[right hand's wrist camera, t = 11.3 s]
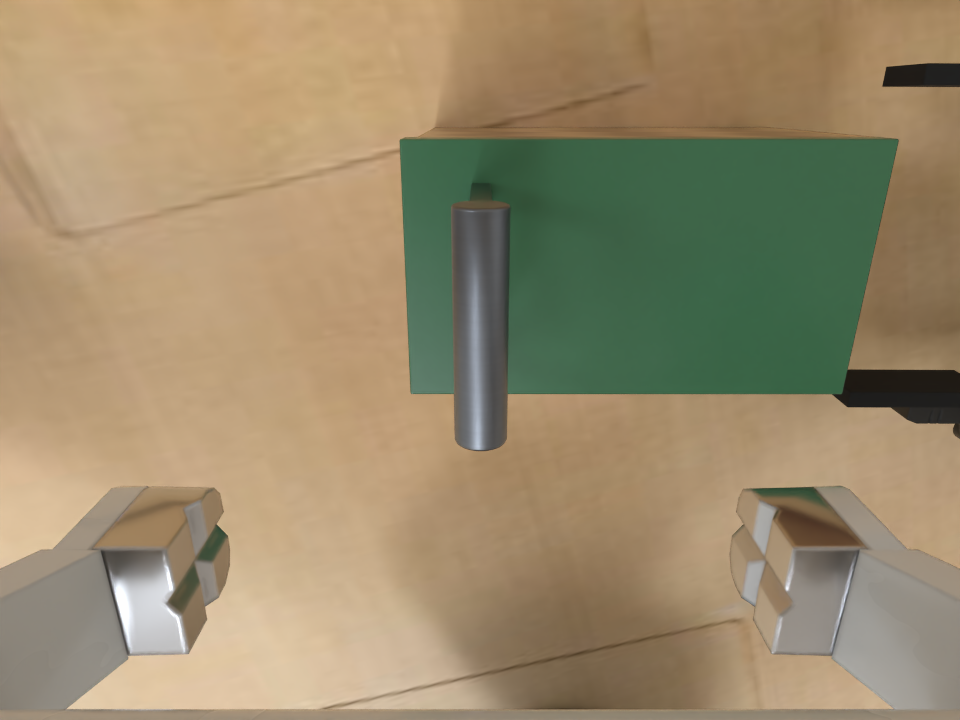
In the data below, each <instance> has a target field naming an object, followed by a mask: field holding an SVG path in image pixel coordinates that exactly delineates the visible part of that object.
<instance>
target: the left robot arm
mask: <svg viewBox="0 0 960 720" xmlns="http://www.w3.org/2000/svg"><path fill="white" fill-rule="evenodd" d="M882 87H960V64H949V63H927V64H915V65H904V66H892V67H886V72H885V77H884V81H883V86H882ZM832 395H833V396H835V397H836V398H837V399H838V400H840V401H841V402H842V403H843V404H844V405H846V406H847V407H891V408H892V409H894V410H895V411H896V412H898V413H899V414H900V415H902V416H903V417H904V418H906V419H907V420H909V421H912V422H914V423H938V424H955V425H954V428H953V433H954V435H955V436H957V437H958V438H959V439H960V373H958V372H956V371H955V370H847V374H846V378H845V383H844V387H843V392H842V394H832Z"/></svg>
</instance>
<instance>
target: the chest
mask: <svg viewBox="0 0 960 720" xmlns="http://www.w3.org/2000/svg"><path fill="white" fill-rule="evenodd" d="M419 137H869V136H858V135H847V134H836V133H825V132H814V131H803V130H792V129H781V128H433V129H431V130H430V131H428V132H426V133H424V134H423V135H421V136H419Z"/></svg>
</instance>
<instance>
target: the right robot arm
mask: <svg viewBox="0 0 960 720" xmlns="http://www.w3.org/2000/svg"><path fill="white" fill-rule="evenodd" d="M223 512H224V510H223V506H222V501H221V496H220V493H219V492H218V491H217V490H216V489H215V488H202V487H148V486H120V487H116V488H111V490H110V491H109V492H108V493H107V494H106V495H105V496H104V497H103V498H102V499H101V500H100V501H99V502H98V503H97V504H96V505H95V506H94V507H93V508H92V509H91V510H90V511H89V512H88V513H87V514H86V515H85V516H84V517H83V518H82V519H81V521H80V522H79V523H78V524H77V525H76V526H75V527H74V528H73V529H72V530H71V531H70V532H69V533H68V534H67V535H66V536H65V537H64V538H63V539H62V540H61V541H60V542H59V543H58V544H57V545H56V546H55V547H54V548H53V549H52V550H40V551H38V552H35V553H33V554H31V555H29V556H27V557H25V558H22V559H20V560H18V561H16V562H14V563H12V564H9V565H7V566H5V567H3V568H1V569H0V720H960V569H959V568H957V567H955V566H953V565H950V564H948V563H946V562H944V561H942V560H940V559H937V558H935V557H933V556H931V555H929V554H927V553H925V552H922V551H920V550H908V549H907V548H906V547H905V546H904V545H903V544H902V543H901V542H900V541H899V540H898V539H897V538H896V537H895V536H894V535H893V534H892V533H891V532H890V531H889V530H888V529H887V528H886V527H885V526H884V525H883V524H882V522H881V521H880V520H879V519H878V518H877V517H876V516H875V515H874V514H873V513H872V512H871V511H870V510H869V509H868V508H867V507H866V506H865V505H864V504H863V503H862V502H861V501H860V500H859V499H858V498H857V497H856V496H855V494H854V493H853V492H852V491H851V490H850V489H847V488H845V487H843V486H822V487H799V488H758V489H743V490H742V492H741V494H740V496H739V499H738V505H737V510H736V512H737V514H738V516H739V517H740V519H741V521H742V522H743V525H742V526H741V527H740V528H739V529H738V531H737V532H736V533H735V534H734V535H733V536H732V540H731V548H730V564H731V573H732V576H733V580H734V583H735V586H736V588H737V590H738V592H739V594H740V596H741V598H743V599H744V600H746V601H747V602H749V603H750V604H752V605H753V606H755V610H754V616H753V621H754V622H755V624H756V626H757V628H758V630H759V632H760V634H761V635H762V637H763V639H764V641H765V643H766V645H767V647H768V648H769V650H770V652H771V654H787V655H824V656H832V659H833V660H834V661H835V662H837V663H838V664H839V665H840V666H842V667H843V668H844V669H845V670H846V671H848V672H849V673H850V674H851V675H853V676H854V677H855V678H856V679H858V680H859V681H860V682H861V683H863V684H864V685H865V686H866V687H868V688H869V689H870V690H871V691H873V692H874V693H875V694H876V695H878V696H879V697H880V698H881V699H883V700H884V701H885V702H886V703H888V704H889V705H890V706H891V707H893V708H894V709H66V708H68V707H69V706H70V705H71V704H73V703H74V702H75V701H76V700H78V699H79V698H80V697H81V696H83V695H84V694H85V693H86V692H88V691H89V690H90V689H91V688H93V687H94V686H95V685H96V684H98V683H99V682H100V681H101V680H103V679H104V678H105V677H106V676H108V675H109V674H110V673H111V672H113V671H114V670H115V669H116V668H118V667H119V666H120V665H121V664H123V663H124V662H125V661H126V660H127V659H128V656H136V655H171V654H189V652H190V650H191V649H192V647H193V645H194V643H195V641H196V639H197V637H198V635H199V634H200V632H201V630H202V628H203V626H204V624H205V622H206V621H207V616H206V610H205V606H207V605H208V604H210V603H211V602H213V601H214V600H216V599H217V598H219V596H220V594H221V592H222V590H223V588H224V586H225V584H226V580H227V575H228V571H229V567H230V546H229V540H228V536H227V535H226V534H225V533H224V532H223V531H222V529H221V528H220V527H219V526H218V525H217V522H218V521H219V519H220V517H221V516H222V514H223Z"/></svg>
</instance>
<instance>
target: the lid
mask: <svg viewBox="0 0 960 720" xmlns="http://www.w3.org/2000/svg"><path fill="white" fill-rule="evenodd" d="M898 141H899V140H898V139H892V138H881V137H405V138H403V139H400V159H401V182H402V206H403V229H404V252H405V275H406V298H407V321H408V344H409V367H410V390H411V394H454V423H455V440H456V442H457V443H458V445H460V446H461V447H463V448H465V449H469V450H474V451H488V450H493V449H496V448H498V447H500V446H502V445H503V444H504V443H505V441H506V439H507V395H508V394H842V392H843V387H844V383H845V378H846V374H847V369H848V365H849V360H850V356H851V351H852V347H853V342H854V338H855V333H856V329H857V324H858V320H859V315H860V311H861V307H862V302H863V298H864V293H865V289H866V284H867V280H868V275H869V271H870V266H871V262H872V257H873V253H874V248H875V244H876V239H877V235H878V230H879V226H880V222H881V217H882V213H883V208H884V204H885V199H886V195H887V190H888V186H889V181H890V177H891V172H892V168H893V163H894V159H895V154H896V150H897V146H898Z"/></svg>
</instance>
